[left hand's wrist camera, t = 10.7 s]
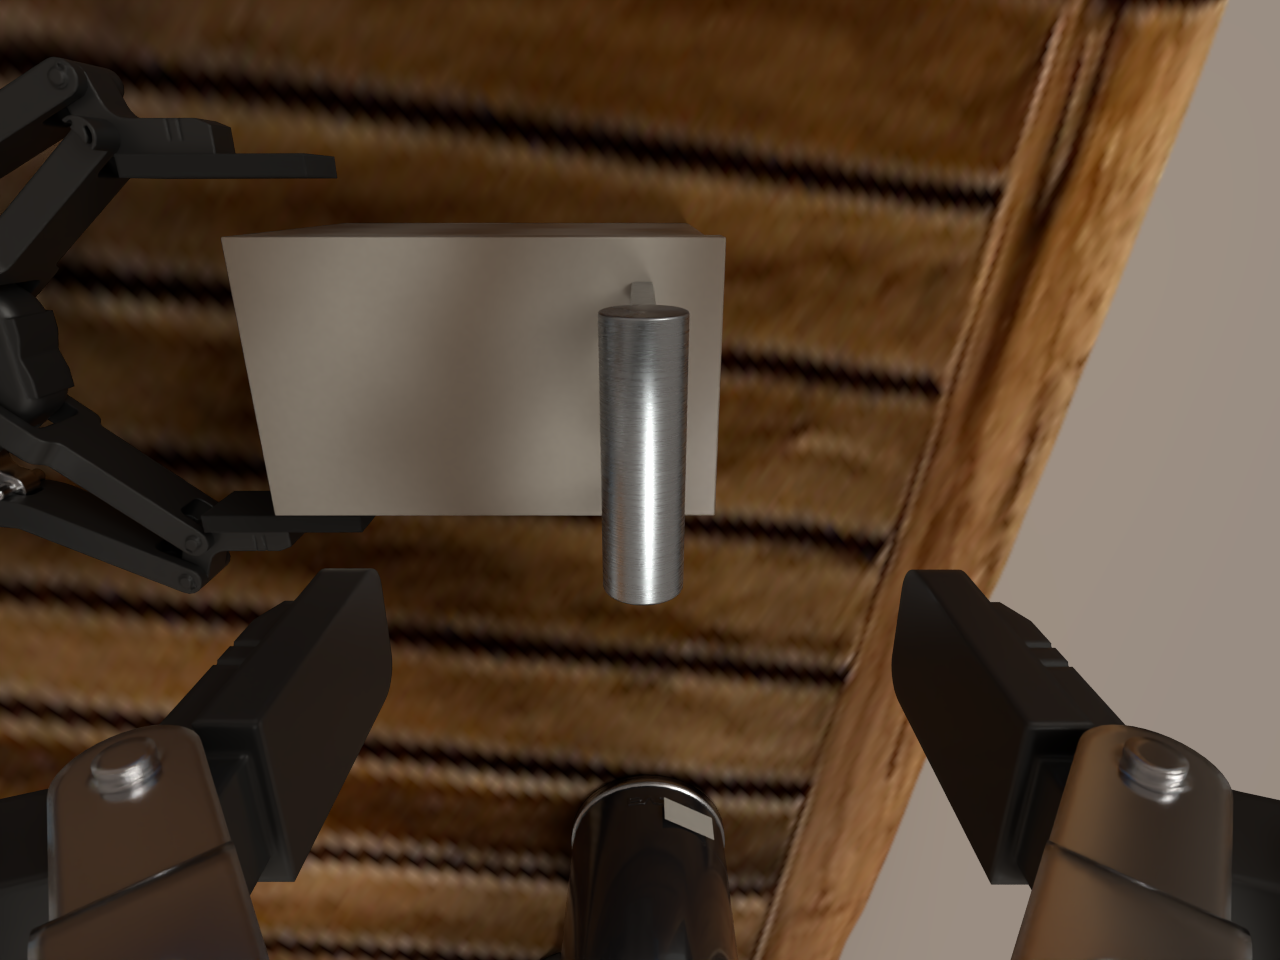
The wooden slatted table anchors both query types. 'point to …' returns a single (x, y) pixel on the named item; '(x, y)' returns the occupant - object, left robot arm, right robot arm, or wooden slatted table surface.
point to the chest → (493, 229)
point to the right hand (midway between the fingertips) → (350, 353)
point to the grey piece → (491, 381)
